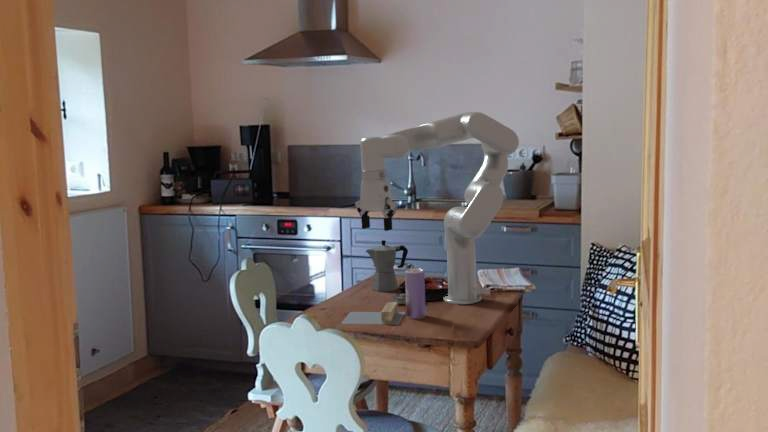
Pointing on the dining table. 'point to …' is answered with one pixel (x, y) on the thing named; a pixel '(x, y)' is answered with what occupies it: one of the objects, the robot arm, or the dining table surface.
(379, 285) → the coffeepot
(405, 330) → the dining table surface
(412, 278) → the beverage can
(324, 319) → the dining table surface
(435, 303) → the dining table surface
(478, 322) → the dining table surface
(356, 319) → the mat
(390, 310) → the block
